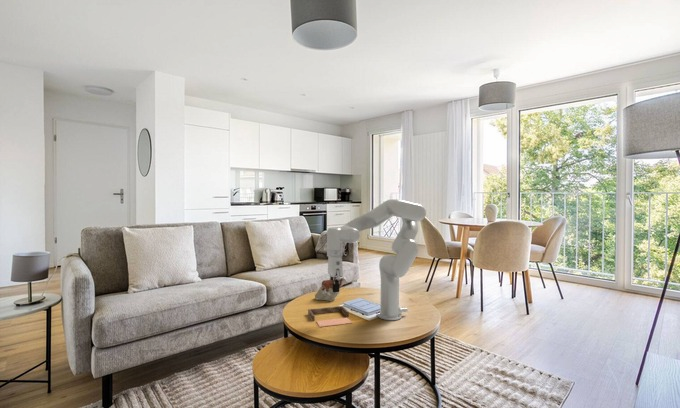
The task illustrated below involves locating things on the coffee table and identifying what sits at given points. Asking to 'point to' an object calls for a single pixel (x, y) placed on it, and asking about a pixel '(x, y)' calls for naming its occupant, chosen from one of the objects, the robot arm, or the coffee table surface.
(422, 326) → the coffee table surface
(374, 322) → the coffee table surface
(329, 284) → the bull figurine
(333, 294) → the fossil tooth
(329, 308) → the stall
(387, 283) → the robot arm
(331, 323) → the mat
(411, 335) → the coffee table surface
